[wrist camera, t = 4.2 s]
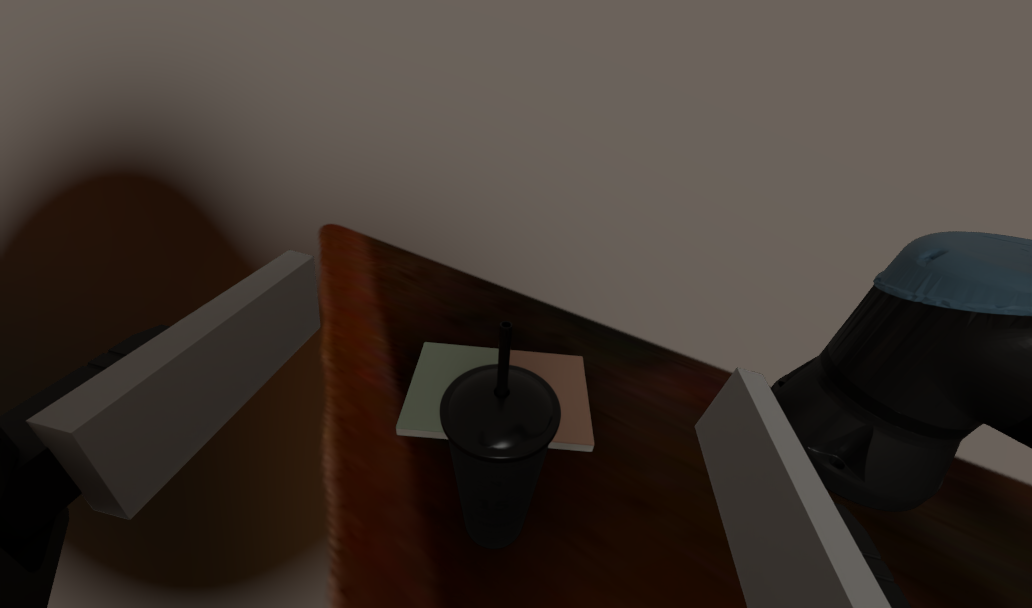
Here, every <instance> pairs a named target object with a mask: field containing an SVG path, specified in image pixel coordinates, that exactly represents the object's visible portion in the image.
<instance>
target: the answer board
mask: <svg viewBox="0 0 1032 608" xmlns="http://www.w3.org/2000/svg"><path fill="white" fill-rule="evenodd" d="M498 352H499V349H495V348H484V347H473V346H463V345H452V344H441V343H430V342H425V343H424V346H423V349H422V352H421V355H420V358H419V361H418V364H417V366H416V369H415V372H414V375H413V378H412V381H411V384H410V387H409V390H408V393H407V396H406V399H405V402H404V405H403V408H402V411H401V414H400V417H399V420H398V422H397V425H396V431H397V435H405V436H416V437H428V438H439V439H448V438H447V436H446V435H445V433H444V431H443V428H442V426H441V422H440V403H441V399H442V396H443V394H444V392H445V391H446V389H447V388H448V386H449V385H450V384H451V383H452V382H453V381H454V380H455V379H456V378H457V377H458V376H460V375H461V374H463V373H465V372H467V371H469V370H471V369H473V368H476V367H480V366H484V365H490V364H498ZM509 365H514V366H518V367H522V368H525V369H527V370H530V371H532V372H534V373H536V374H537V375H539V376H540V377H542V378H543V379H544V380H545V381H546V382H547V383H548V384H549V385H550V386H551V387H552V388H553V390H554V391H555V393H556V395H557V397H558V399H559V402H560V407H561V420H560V425H559V429H558V431H557V433H556V435H555V437H554V439H553V440H552V441H551V443H550V444H549V446H548V448H554V449H565V450H576V451H588V452H592V450H593V447H594V438H593V431H592V424H591V416H590V409H589V402H588V394H587V387H586V379H585V372H584V365H583V357H582V356H571V355H560V354H550V353H539V352H528V351H517V350H510V363H509Z"/></svg>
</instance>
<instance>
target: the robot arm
mask: <svg viewBox="0 0 1032 608" xmlns="http://www.w3.org/2000/svg"><path fill="white" fill-rule="evenodd" d="M873 282H874V285H873V287H872V288H871V289H870V291H869V292H868V294H867V295H866V296H865V297H864V299H863V300H862V301H861V302H860V304H859V305H858V306H857V308H856V309H855V310H854V311H853V313H852V314H851V315H850V317H849V318H848V319H847V320H846V322H845V323H844V324H843V325H842V327H841V328H840V329H839V330H838V332H837V333H836V334H835V336H834V337H833V338H832V340H831V341H830V342H829V344H828V345H827V346H826V347H825V349H824V350H823V351H822V353H821V354H820V355H819V356H817V357H815V358H814V359H812V360H810V361H809V362H807V363H805V364H804V365H802V366H800V367H799V368H797V369H795V370H793V371H792V372H790V373H789V374H787V375H785V376H784V377H782V378H780V379H779V380H778V381H776V382H775V383H774V385H773V386H772V387H771V389H770V387H769V385H768V384H767V382H766V380H765V378H764V376H763V375H762V374H760V373H756V372H753V371H749V370H745V369H741V368H736V370H735V371H734V372H733V374H732V375H731V377H730V378H729V379H728V381H727V382H726V384H725V385H724V386H723V388H722V389H721V391H720V392H719V393H718V395H717V396H716V398H715V399H714V400H713V402H712V403H711V404H710V406H709V407H708V409H707V410H706V411H705V413H704V414H703V416H702V417H701V418H700V420H699V421H698V423H697V424H696V425H695V429H696V432H697V436H698V439H699V443H700V446H701V450H702V453H703V456H704V460H705V463H706V467H707V470H708V474H709V477H710V480H711V484H712V487H713V491H714V494H715V498H716V501H717V504H718V508H719V511H720V515H721V518H722V522H723V525H724V529H725V532H726V535H727V539H728V542H729V546H730V549H731V553H732V556H733V559H734V563H735V566H736V570H737V573H738V577H739V580H740V583H741V587H742V590H743V594H744V597H745V601H746V604H747V607H748V608H911V606H910V605H909V603H908V601H907V600H906V598H905V596H904V594H903V593H902V591H901V589H900V588H899V586H898V584H895V583H894V581H893V580H894V577H893V576H892V574H891V572H890V571H889V569H888V567H887V566H886V564H885V562H883V561H881V559H880V557H881V555H880V554H879V552H878V550H877V549H876V547H875V545H874V544H873V542H872V540H871V538H870V537H869V535H868V533H867V532H866V530H865V529H864V528H863V527H862V525H861V524H860V523H859V522H858V521H857V520H856V519H855V518H854V516H853V515H852V514H851V513H850V512H849V511H848V510H847V509H846V507H845V506H844V505H840V504H836V503H833V501H832V499H831V498H830V496H829V494H828V492H827V490H826V489H825V487H826V488H827V489H829V490H831V491H833V492H834V493H836V494H838V495H840V496H842V497H844V498H846V499H848V500H851V501H853V502H856V503H858V504H861V505H864V506H867V507H870V508H874V509H879V510H884V511H907V510H911V509H913V508H916V507H917V506H919V505H921V504H922V503H923V502H925V501H926V500H928V499H929V498H931V497H932V496H933V495H934V494H936V492H937V491H938V490H939V489H940V487H941V486H942V484H943V478H944V476H945V475H946V473H947V471H948V469H949V467H950V465H951V463H952V460H953V458H954V456H955V454H956V452H957V449H958V447H959V444H960V442H961V441H962V439H963V438H965V437H966V436H967V435H968V434H970V433H971V432H972V431H974V430H975V429H976V428H978V427H979V426H981V425H982V424H986V425H988V426H991V427H992V428H994V429H996V430H998V431H1000V432H1002V433H1004V434H1006V435H1008V436H1009V437H1011V438H1013V439H1015V440H1017V441H1018V442H1020V443H1022V444H1024V445H1026V446H1028V447H1030V448H1032V240H1030V239H1024V238H1018V237H1012V236H1006V235H998V234H990V233H980V232H957V231H956V232H940V233H934V234H929V235H926V236H923V237H920V238H918V239H915V240H914V241H912V242H911V243H909V244H908V245H907V246H906V247H904V248H903V250H902V251H901V252H900V253H899V254H898V255H897V257H896V258H895V259H894V260H893V261H892V262H891V264H890V265H889V266H888V267H887V268H886V269H885V270H884V271H883V272H881V273H879V274H878V275H877V276H876V278H875V279H874V281H873ZM319 328H320V318H319V308H318V297H317V287H316V276H315V265H314V256H311V255H307V254H303V253H299V252H296V251H292V250H289V251H287V252H285V253H284V254H282V255H281V256H279V257H278V258H276V259H275V260H273V261H272V262H270V263H268V264H267V265H265V266H264V267H262V268H261V269H259V270H258V271H256V272H255V273H253V274H252V275H250V276H248V277H247V278H245V279H244V280H242V281H241V282H239V283H238V284H236V285H235V286H233V287H231V288H230V289H228V290H227V291H225V292H224V293H222V294H221V295H219V296H218V297H216V298H215V299H213V300H211V301H210V302H209V303H207V304H206V305H204V306H202V307H201V308H199V309H198V310H196V311H194V312H193V313H191V314H190V315H188V316H187V317H185V318H184V319H182V320H180V321H179V322H177V323H176V324H174V325H173V326H171V327H169V326H165V325H159V326H157V327H154V328H151V329H148V330H145V331H143V332H140V333H137V334H135V335H132V336H130V337H129V338H127V339H126V340H124V341H122V342H121V343H119V344H117V345H116V346H114V347H113V348H111V349H109V350H108V353H106V354H105V353H103V354H101V355H99V356H98V357H97V358H95V359H93V360H91V361H90V362H88V365H87V366H82V367H80V368H78V369H77V370H75V371H73V372H72V373H70V374H68V375H67V376H65V377H64V378H62V379H60V380H59V381H57V382H56V383H54V384H52V385H51V386H49V387H47V388H46V389H44V390H42V391H41V392H39V393H37V394H36V395H34V396H32V397H31V398H29V399H28V400H26V401H24V402H23V403H21V404H20V405H18V406H16V407H15V408H13V409H11V410H10V411H8V412H6V413H5V414H3V415H1V416H0V608H47V605H48V601H49V597H50V593H51V589H52V585H53V582H54V578H55V573H56V569H57V566H58V561H59V557H60V554H61V549H62V545H63V542H64V538H65V534H66V530H67V526H68V522H69V509H68V508H67V506H68V505H69V504H70V503H71V502H72V501H73V500H75V499H76V498H77V497H78V496H79V495H80V494H82V495H83V497H84V498H85V499H86V501H87V502H88V503H89V505H90V506H91V507H92V509H93V510H96V511H100V512H104V513H107V514H111V515H115V516H118V517H122V518H125V519H129V520H130V519H131V518H132V517H133V516H134V515H135V514H136V513H137V512H138V511H139V510H140V509H141V508H142V507H143V506H144V505H145V504H146V503H147V502H148V501H149V500H150V499H151V498H152V497H153V496H154V495H155V494H156V493H157V492H158V491H159V490H160V489H161V488H162V487H163V486H164V485H165V484H166V483H167V482H168V481H169V480H170V479H171V478H172V476H174V475H175V474H176V473H177V472H178V471H179V470H180V469H181V467H183V466H184V465H185V464H186V463H187V462H188V460H190V458H192V457H193V455H194V454H195V453H196V452H197V451H198V450H199V449H200V448H201V447H202V446H203V445H204V444H205V443H206V442H207V441H208V440H209V439H210V438H211V437H212V436H213V435H214V434H215V433H216V432H217V431H218V430H219V429H220V428H221V427H222V426H223V425H224V424H225V423H226V422H227V421H228V420H229V419H230V418H231V417H232V416H233V415H234V414H235V413H236V412H237V411H238V410H239V409H240V408H241V407H242V406H243V405H244V404H245V403H246V402H247V401H248V400H249V399H250V398H251V397H252V396H253V395H254V394H255V393H256V392H257V391H258V390H259V389H260V388H261V387H262V386H263V385H264V384H265V383H266V382H267V381H268V380H269V379H270V377H272V375H273V374H274V373H275V372H276V371H277V370H278V369H279V368H280V367H281V366H282V365H283V364H284V363H285V362H286V361H287V360H288V359H289V358H290V357H291V356H292V355H293V354H294V353H295V352H296V351H297V350H298V349H299V348H300V347H301V346H302V345H303V344H304V343H305V342H306V341H307V340H308V339H309V338H310V337H311V336H312V335H313V334H314V333H315V332H316V331H317V330H318V329H319Z"/></svg>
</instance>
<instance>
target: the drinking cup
mask: <svg viewBox="0 0 1032 608" xmlns="http://www.w3.org/2000/svg"><path fill="white" fill-rule="evenodd" d="M511 337H512V323H511V322H509V321H503V322H501V323H500V333H499V352H498V364H490V365H484V366H480V367H476V368H473V369H471V370H469V371H467V372H465V373H463V374H461V375H460V376H458V377H457V378H456V379H455V380H454V381H453V382H452V383H451V384H450V385H449V386H448V388H447V389H446V391H445V392H444V394H443V396H442V399H441V403H440V422H441V426H442V428H443V431H444V433H445V435H446V436H447V438H448V440H449V445H450V450H451V455H452V460H453V465H454V470H455V476H456V481H457V486H458V491H459V496H460V501H461V506H462V511H463V516H464V521H465V526H466V529H467V532H468V534H469V535H470V537H471V538H472V539H473V540H474V541H475V542H476V543H477V544H479V545H480V546H483V547H485V548H490V549H497V548H502V547H505V546H507V545H509V544H510V543H512V542H513V541H514V540H515V539H516V538H517V536H518V535H519V533H520V531H521V529H522V526H523V523H524V520H525V517H526V514H527V511H528V508H529V504H530V501H531V498H532V495H533V492H534V489H535V486H536V483H537V480H538V477H539V474H540V471H541V468H542V464H543V461H544V458H545V455H546V452H547V449H548V446H549V444H550V443H551V441H552V440H553V439H554V437H555V435H556V433H557V431H558V429H559V425H560V420H561V407H560V402H559V399H558V397H557V395H556V393H555V391H554V390H553V388H552V387H551V386H550V385H549V384H548V383H547V382H546V381H545V380H544V379H543V378H542V377H540V376H539V375H537V374H536V373H534V372H532V371H530V370H527V369H525V368H522V367H518V366H514V365H509V363H510V350H511Z"/></svg>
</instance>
